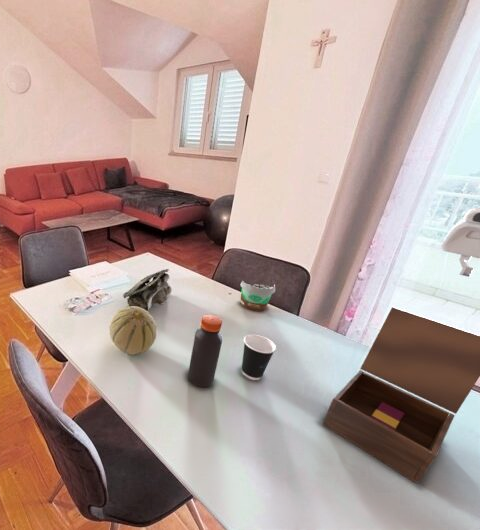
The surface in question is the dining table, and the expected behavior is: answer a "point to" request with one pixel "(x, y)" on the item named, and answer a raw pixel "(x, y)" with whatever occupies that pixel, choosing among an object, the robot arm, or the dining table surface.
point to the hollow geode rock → (150, 291)
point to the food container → (255, 296)
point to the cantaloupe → (133, 330)
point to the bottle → (205, 351)
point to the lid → (426, 358)
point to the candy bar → (387, 415)
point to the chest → (382, 437)
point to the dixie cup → (256, 355)
